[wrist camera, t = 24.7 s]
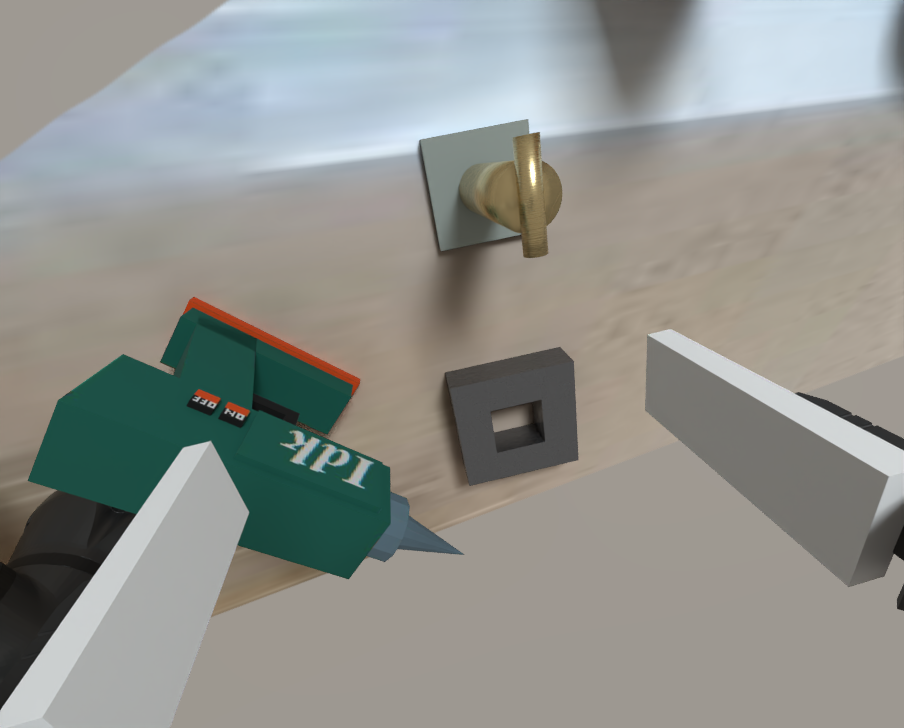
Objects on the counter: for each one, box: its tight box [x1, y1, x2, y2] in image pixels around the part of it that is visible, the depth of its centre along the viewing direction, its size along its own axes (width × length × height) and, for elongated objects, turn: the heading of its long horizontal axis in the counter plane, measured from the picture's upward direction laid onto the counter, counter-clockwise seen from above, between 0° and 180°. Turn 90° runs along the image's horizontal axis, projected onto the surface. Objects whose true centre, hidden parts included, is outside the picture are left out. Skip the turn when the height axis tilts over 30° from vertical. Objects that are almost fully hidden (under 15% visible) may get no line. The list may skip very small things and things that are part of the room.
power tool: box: [28, 297, 463, 579], centre depth 39 cm, size 32×7×20 cm, turn 56°
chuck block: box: [445, 347, 578, 486], centre depth 50 cm, size 14×14×4 cm
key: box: [459, 132, 562, 258], centre depth 32 cm, size 4×7×16 cm, turn 10°
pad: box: [420, 119, 529, 251], centre depth 40 cm, size 10×10×1 cm
